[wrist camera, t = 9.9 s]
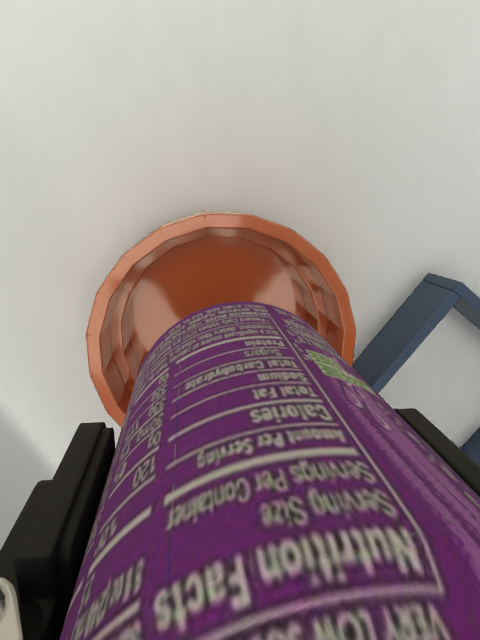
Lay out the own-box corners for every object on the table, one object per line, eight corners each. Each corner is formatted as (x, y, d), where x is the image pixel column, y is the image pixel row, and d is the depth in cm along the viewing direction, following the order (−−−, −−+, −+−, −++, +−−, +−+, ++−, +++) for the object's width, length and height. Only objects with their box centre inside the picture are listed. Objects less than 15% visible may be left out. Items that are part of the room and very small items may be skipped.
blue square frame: (542, 370, 27) (584, 390, 24) (429, 492, 28) (455, 524, 26) (428, 272, 24) (461, 281, 21) (310, 414, 26) (325, 441, 23)
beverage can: (284, 495, 16) (520, 1224, 5) (108, 446, 15) (-189, 1353, 3) (365, 337, 15) (1016, 837, 3) (179, 263, 13) (108, 715, 2)
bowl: (363, 297, 24) (406, 320, 19) (239, 449, 26) (250, 505, 21) (192, 162, 21) (193, 149, 16) (66, 347, 23) (32, 385, 18)
